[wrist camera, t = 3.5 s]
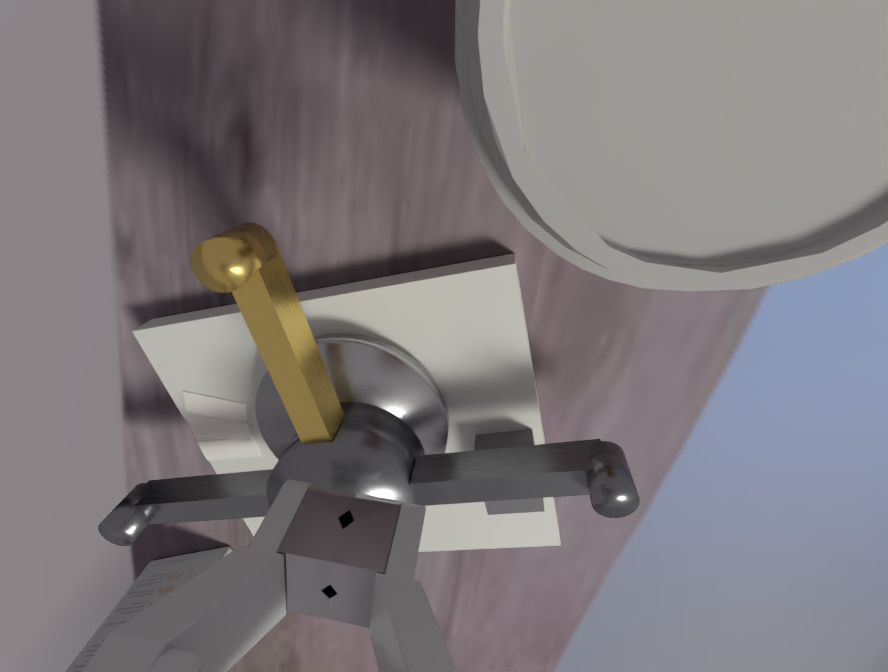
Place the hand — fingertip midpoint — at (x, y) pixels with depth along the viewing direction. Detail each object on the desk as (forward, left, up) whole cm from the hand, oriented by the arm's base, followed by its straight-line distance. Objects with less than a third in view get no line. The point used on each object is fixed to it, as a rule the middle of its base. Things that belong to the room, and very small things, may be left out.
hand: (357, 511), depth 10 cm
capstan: (-8, +6, -12) cm, 15 cm away
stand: (-8, +6, -14) cm, 17 cm away
